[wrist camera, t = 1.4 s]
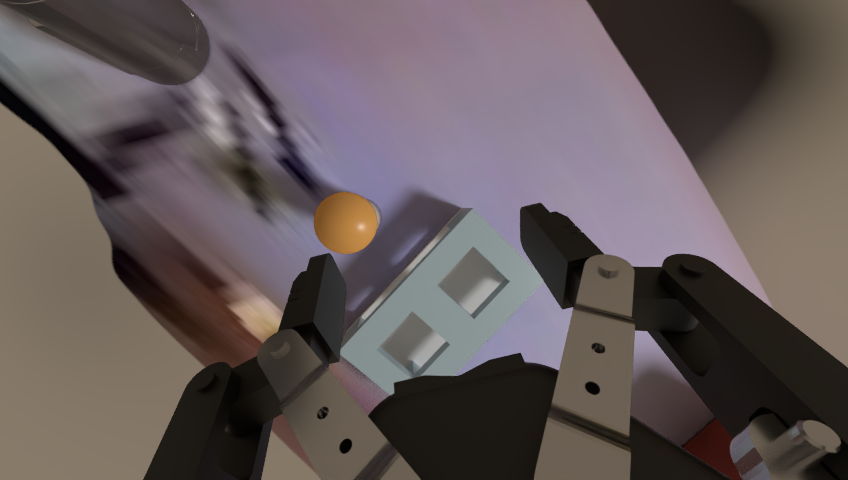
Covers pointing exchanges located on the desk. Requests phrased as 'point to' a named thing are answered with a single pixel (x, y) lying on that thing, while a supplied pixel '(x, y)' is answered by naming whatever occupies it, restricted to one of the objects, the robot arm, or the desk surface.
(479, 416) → the robot arm
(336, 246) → the orange ball-topped peg
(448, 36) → the desk surface
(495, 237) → the grey hollow block
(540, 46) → the desk surface
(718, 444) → the plant pot
